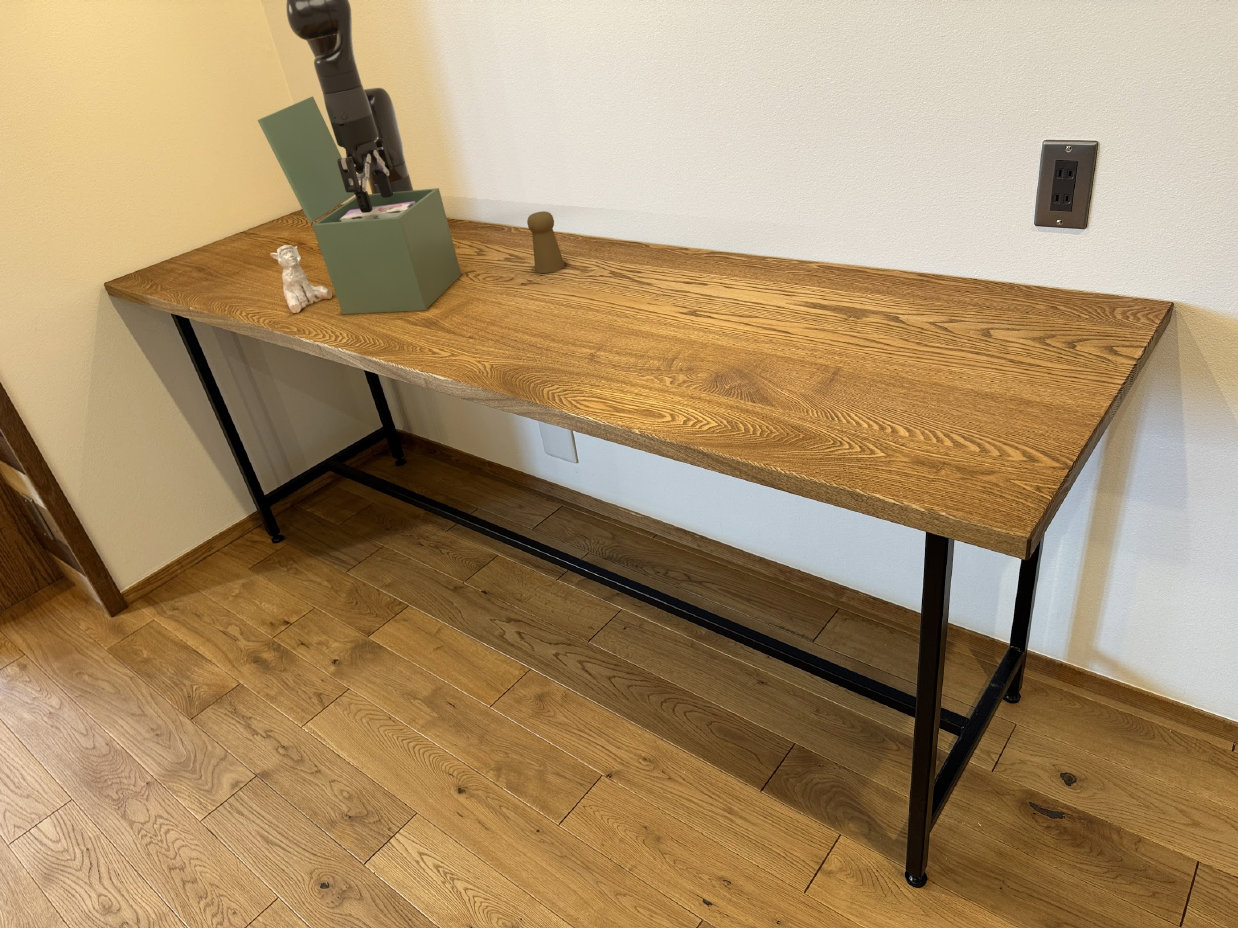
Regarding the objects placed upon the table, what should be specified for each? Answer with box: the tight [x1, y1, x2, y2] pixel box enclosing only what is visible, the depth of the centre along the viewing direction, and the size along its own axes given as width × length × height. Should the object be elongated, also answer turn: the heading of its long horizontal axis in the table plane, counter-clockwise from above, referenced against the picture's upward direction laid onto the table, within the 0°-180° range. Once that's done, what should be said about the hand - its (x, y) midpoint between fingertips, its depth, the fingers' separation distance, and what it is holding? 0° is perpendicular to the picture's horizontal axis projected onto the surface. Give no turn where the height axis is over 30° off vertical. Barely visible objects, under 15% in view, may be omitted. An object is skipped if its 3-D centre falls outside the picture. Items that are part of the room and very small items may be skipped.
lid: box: [257, 95, 355, 224], centre depth 167 cm, size 19×18×5 cm
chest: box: [311, 187, 462, 315], centre depth 173 cm, size 18×18×18 cm
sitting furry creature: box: [269, 244, 333, 314], centre depth 180 cm, size 10×9×12 cm
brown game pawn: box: [526, 210, 565, 274], centre depth 175 cm, size 6×6×11 cm
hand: (377, 204), depth 168 cm, fingers open, 8 cm apart
